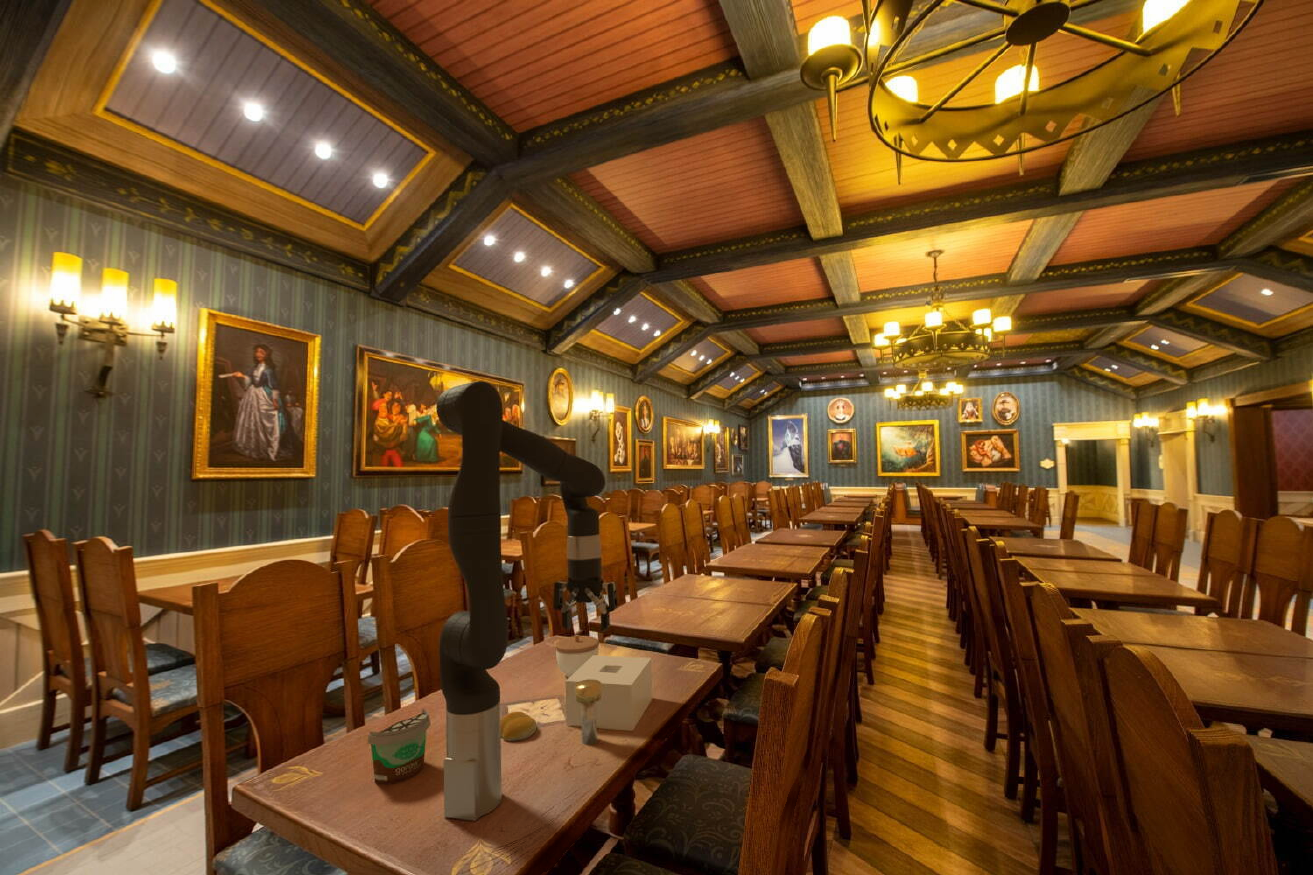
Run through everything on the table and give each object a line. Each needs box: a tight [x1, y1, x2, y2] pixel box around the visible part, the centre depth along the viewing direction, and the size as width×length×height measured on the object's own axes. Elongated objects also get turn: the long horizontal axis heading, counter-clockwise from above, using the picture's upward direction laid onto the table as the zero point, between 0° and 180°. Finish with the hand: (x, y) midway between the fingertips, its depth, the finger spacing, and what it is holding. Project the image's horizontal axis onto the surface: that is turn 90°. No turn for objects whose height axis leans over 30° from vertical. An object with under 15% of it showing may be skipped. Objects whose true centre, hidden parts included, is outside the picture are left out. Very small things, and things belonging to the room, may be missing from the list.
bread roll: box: [500, 711, 537, 742], centre depth 123 cm, size 8×9×4 cm
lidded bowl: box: [554, 634, 600, 679], centre depth 158 cm, size 13×13×11 cm
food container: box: [367, 708, 432, 785], centre depth 107 cm, size 12×6×10 cm, turn 148°
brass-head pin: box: [575, 679, 601, 746], centre depth 118 cm, size 6×6×12 cm
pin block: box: [565, 654, 654, 732], centre depth 132 cm, size 18×16×10 cm
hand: (586, 629), depth 119 cm, fingers open, 8 cm apart
